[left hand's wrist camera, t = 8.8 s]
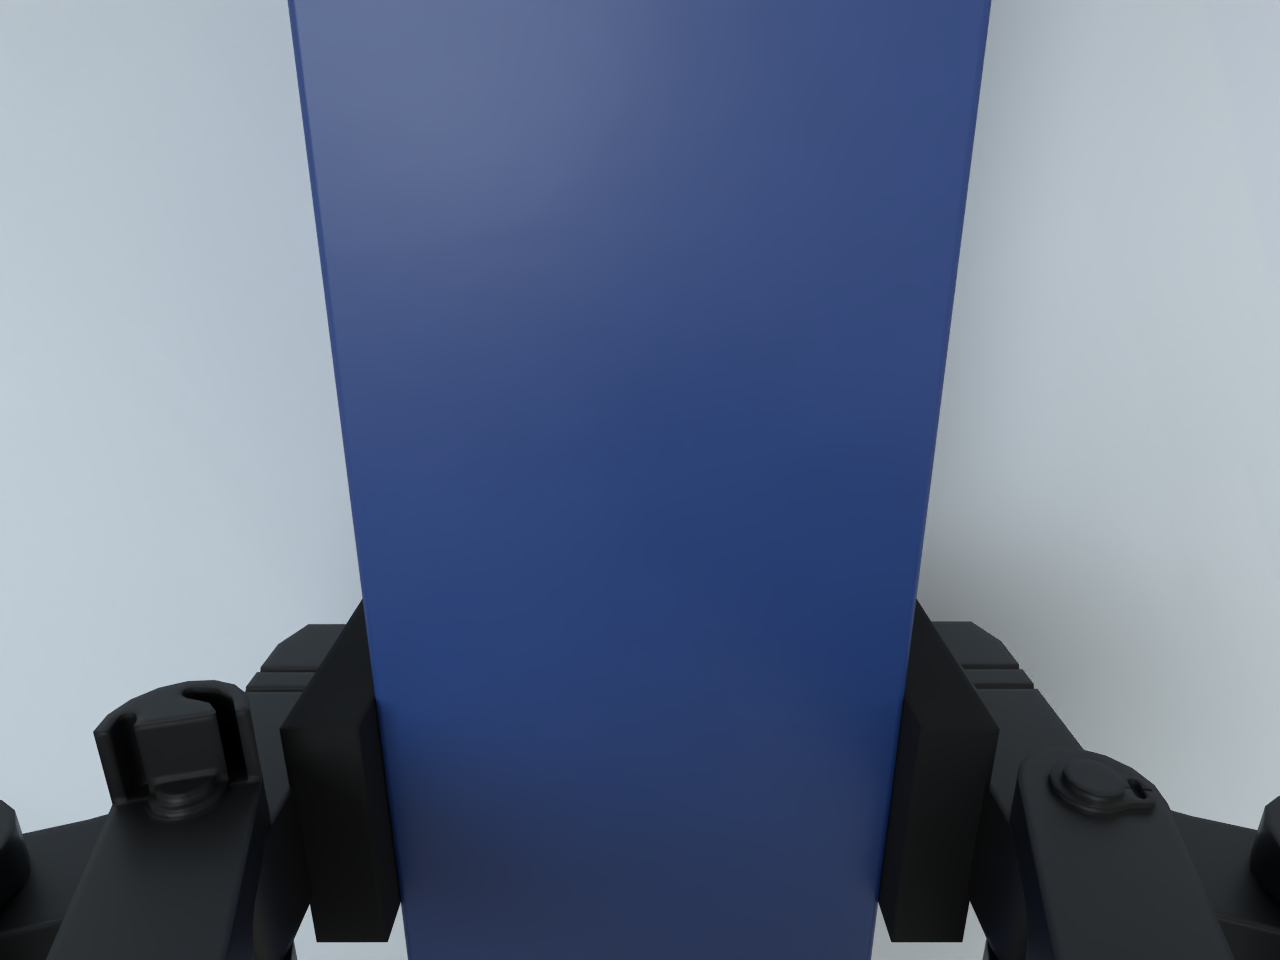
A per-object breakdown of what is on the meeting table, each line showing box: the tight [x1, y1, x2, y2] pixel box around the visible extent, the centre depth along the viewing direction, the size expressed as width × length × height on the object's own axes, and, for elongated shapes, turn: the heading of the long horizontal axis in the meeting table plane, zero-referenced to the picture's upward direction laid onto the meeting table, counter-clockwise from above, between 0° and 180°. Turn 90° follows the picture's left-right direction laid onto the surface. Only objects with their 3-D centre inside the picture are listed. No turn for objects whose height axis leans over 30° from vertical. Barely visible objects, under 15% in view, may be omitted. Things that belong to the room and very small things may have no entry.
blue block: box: [288, 0, 991, 960], centre depth 12 cm, size 17×5×8 cm, turn 0°
